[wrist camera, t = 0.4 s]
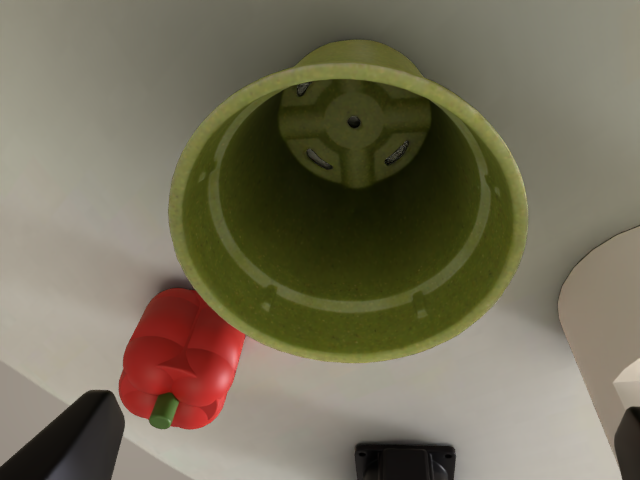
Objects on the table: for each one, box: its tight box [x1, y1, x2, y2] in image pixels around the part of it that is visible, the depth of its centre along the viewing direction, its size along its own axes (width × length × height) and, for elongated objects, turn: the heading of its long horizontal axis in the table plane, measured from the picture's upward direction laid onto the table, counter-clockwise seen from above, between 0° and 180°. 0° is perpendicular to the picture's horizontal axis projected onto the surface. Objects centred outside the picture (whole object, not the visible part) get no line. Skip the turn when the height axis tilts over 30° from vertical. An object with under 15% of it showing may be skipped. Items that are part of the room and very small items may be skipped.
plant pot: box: [168, 40, 528, 363], centre depth 17 cm, size 9×9×9 cm
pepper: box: [119, 288, 245, 429], centre depth 25 cm, size 6×6×7 cm
